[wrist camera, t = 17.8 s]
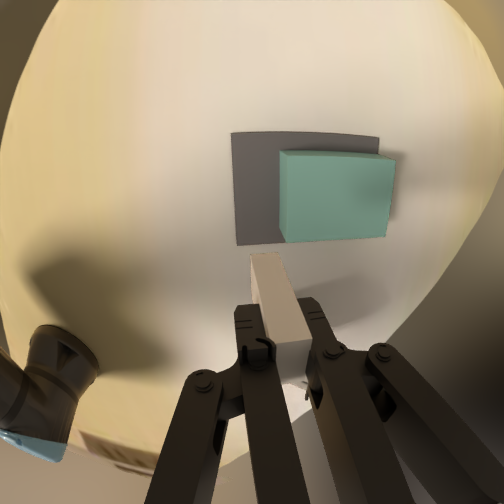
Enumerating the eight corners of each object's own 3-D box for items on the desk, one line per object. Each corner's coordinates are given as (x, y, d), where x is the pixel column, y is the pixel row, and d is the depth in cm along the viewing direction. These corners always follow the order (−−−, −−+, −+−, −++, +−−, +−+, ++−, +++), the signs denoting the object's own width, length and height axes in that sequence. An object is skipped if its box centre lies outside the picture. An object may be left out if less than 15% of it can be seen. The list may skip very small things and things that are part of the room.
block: (286, 243, 28) (385, 236, 29) (287, 155, 24) (395, 160, 25) (279, 227, 32) (370, 223, 32) (279, 150, 27) (377, 154, 28)
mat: (236, 244, 32) (237, 245, 32) (231, 133, 26) (231, 133, 26) (366, 236, 34) (367, 237, 33) (377, 137, 27) (378, 137, 27)
